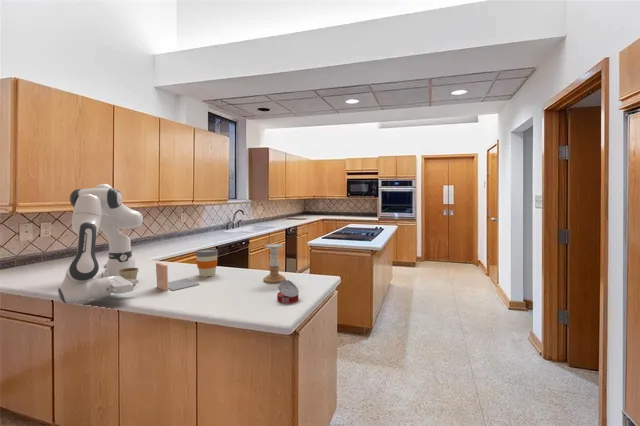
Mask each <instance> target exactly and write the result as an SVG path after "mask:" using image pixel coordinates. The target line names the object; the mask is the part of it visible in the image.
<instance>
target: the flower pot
mask: <svg viewBox="0 0 640 426" xmlns="http://www.w3.org/2000/svg"><path fill="white" fill-rule="evenodd" d="M138 270H139V271H140V269H139V267H136V268H125V269H121V270H119V271H118V272H119V274H120V276H121V277H123V278H124V279H126V280H127V279H137V276H138V273H139V271H138ZM136 285H137V284H134V285H133V287H134V286H136Z"/></svg>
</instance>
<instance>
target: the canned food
mask: <svg viewBox="0 0 640 426" xmlns="http://www.w3.org/2000/svg"><path fill="white" fill-rule="evenodd" d="M277 288H278V291H279V292H278V293H277V294H276V297H277V298H276V299H277V300H276V301H277V302H278V303H281V304H293V302H294V303H297V302H298V301H299V292H300V291H299V289H298V287H297V286H296V284H295V283H293V282H292V281H291V280H290V279H285V280H284V281H282V282H280V283H278V287H277ZM296 301H297V302H296Z"/></svg>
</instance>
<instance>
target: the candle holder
mask: <svg viewBox="0 0 640 426" xmlns="http://www.w3.org/2000/svg"><path fill="white" fill-rule="evenodd" d="M283 247H284V244H282V243H267V244H264V248H266V249H268V250H269V251H270V254H269V257H270V259H269V263H268V265H269V266H270V267H269V268H268V269H269V274H267V275H266V276H264V277H263V279H262V280H263V282H264V283H267V284H280V283H281V282H282V281H284V280H286V277H285V276H284V275H282V274H281V273H279V270H280V266H279V265H280V262H279V260H278V257H279V254H278V252H279V250H280V249H281V248H283Z"/></svg>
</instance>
